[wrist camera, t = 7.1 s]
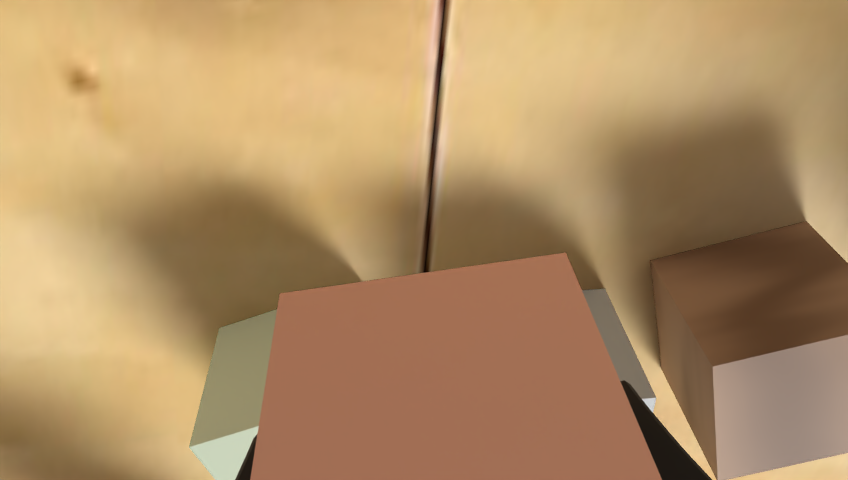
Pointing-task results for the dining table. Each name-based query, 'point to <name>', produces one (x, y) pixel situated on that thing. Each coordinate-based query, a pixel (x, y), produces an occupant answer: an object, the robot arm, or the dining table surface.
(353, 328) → the terracotta cube
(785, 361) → the walnut cube
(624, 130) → the dining table surface
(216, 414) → the sage cube
